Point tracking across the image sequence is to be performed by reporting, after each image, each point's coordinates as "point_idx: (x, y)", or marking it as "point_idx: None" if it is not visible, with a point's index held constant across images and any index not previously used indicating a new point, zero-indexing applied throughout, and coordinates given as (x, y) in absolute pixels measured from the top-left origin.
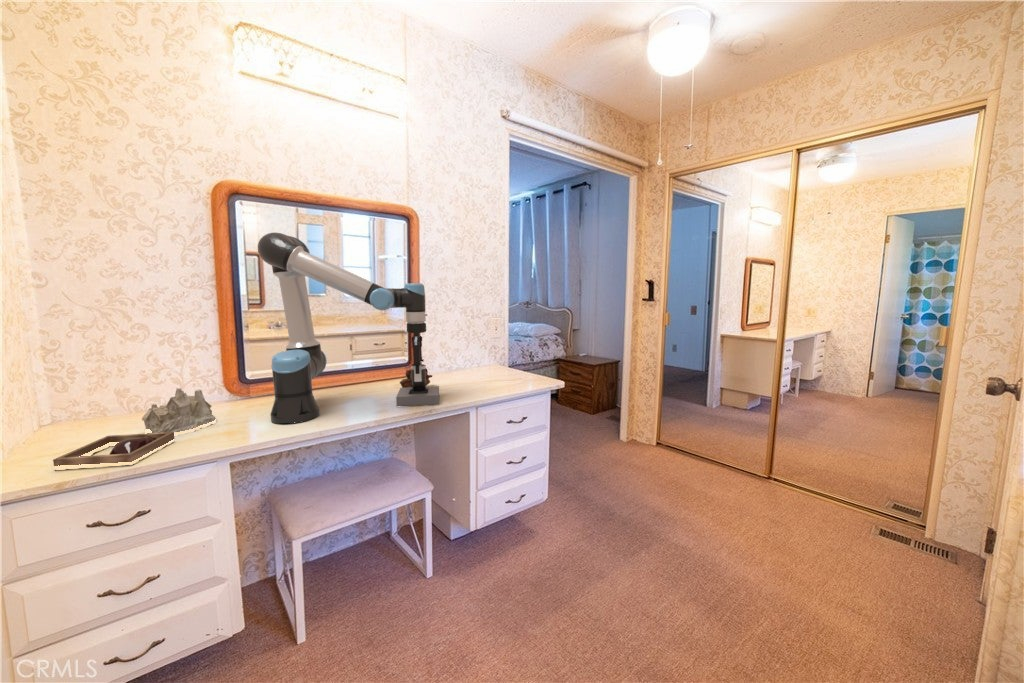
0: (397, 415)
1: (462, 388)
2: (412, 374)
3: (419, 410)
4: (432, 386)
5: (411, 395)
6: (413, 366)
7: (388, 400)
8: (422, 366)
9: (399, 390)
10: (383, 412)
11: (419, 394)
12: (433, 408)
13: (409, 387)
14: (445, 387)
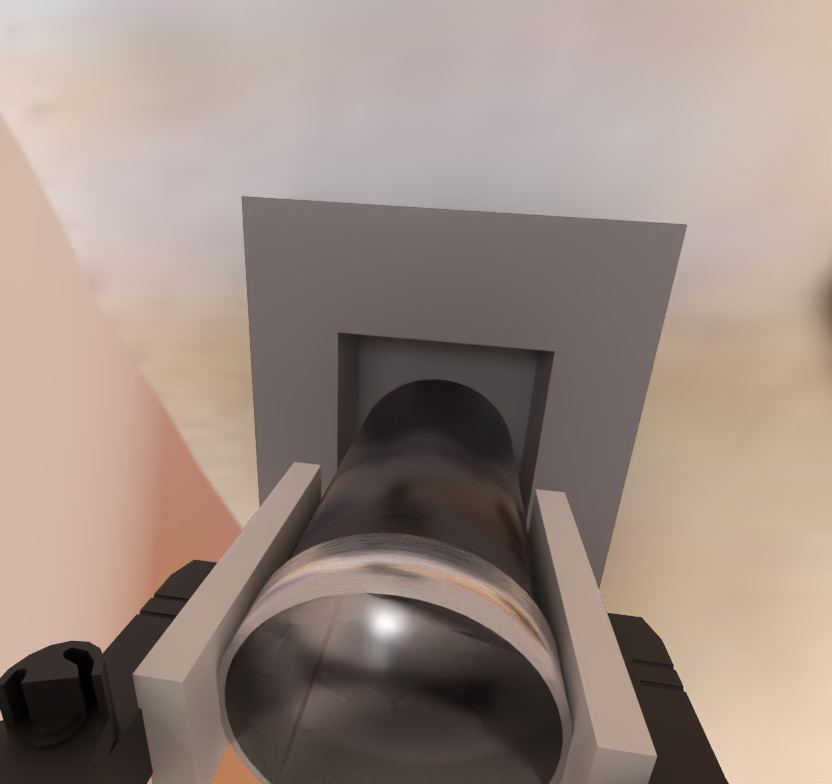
0: (64, 225)
1: (716, 739)
2: (344, 492)
3: (180, 395)
4: (598, 577)
5: (284, 364)
6: (308, 633)
7: (549, 86)
8: (278, 781)
9: (541, 219)
10: (141, 82)
11: (310, 441)
12: (219, 491)
13: (654, 344)
14: (826, 641)
